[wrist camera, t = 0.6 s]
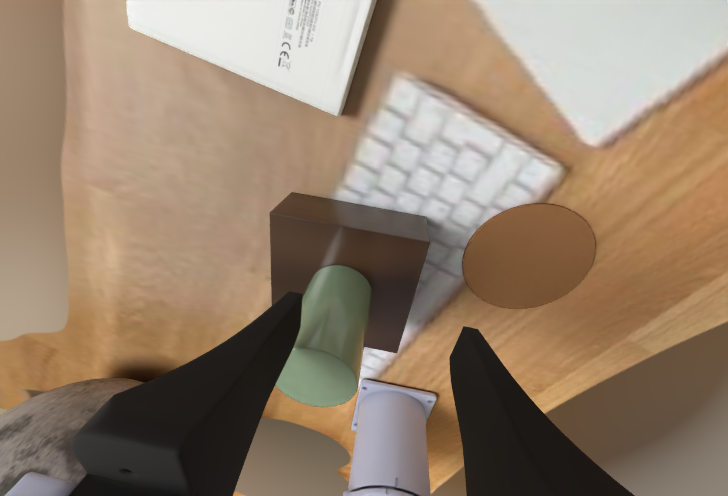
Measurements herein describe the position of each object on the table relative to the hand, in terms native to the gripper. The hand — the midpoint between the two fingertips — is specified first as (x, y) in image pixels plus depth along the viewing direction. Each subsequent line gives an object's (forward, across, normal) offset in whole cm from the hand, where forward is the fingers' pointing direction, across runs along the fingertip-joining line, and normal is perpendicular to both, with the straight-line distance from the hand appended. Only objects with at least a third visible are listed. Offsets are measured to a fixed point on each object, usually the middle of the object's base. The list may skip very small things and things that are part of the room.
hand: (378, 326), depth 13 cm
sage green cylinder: (+6, +2, +4) cm, 8 cm away
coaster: (+10, -10, 0) cm, 15 cm away
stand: (+10, +2, +4) cm, 11 cm away
